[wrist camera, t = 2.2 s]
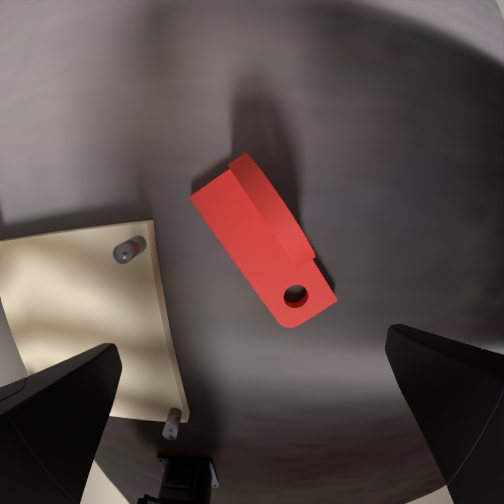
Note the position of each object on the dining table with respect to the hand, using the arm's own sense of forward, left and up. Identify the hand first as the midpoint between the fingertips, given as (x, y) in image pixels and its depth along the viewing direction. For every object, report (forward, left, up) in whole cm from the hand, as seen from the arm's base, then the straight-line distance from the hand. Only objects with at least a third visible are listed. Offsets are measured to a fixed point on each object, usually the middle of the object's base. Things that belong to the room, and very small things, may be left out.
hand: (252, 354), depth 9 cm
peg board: (-6, +15, -13) cm, 21 cm away
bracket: (0, -1, -13) cm, 13 cm away
